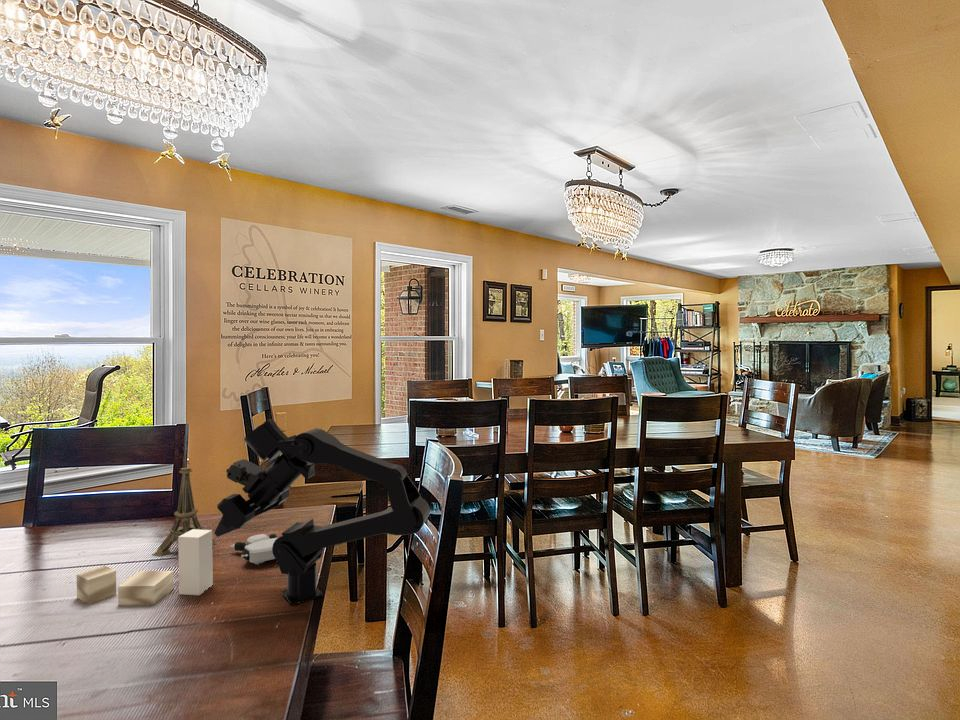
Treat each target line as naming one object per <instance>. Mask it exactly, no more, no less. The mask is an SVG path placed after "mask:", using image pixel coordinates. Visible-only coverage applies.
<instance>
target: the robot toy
mask: <svg viewBox="0 0 960 720" xmlns="http://www.w3.org/2000/svg"><path fill="white" fill-rule="evenodd" d="M277 538H278V535H277V534H276V533H271V534H270V535H269V536H268V535H267V534H266V533H261V534H255V535H251V536H249V537H248V538H247V539H246V542H242V541H237V542H236V543H233V544H231V545H230V548H231V549H234V551H238V552H241V555H240V558H242V559H244V560H246V561H247V562H249V563H252V564H253V563H254V565H260V564H259V563H261V564H263V563H265V562H266V561H272V560H277V559H276V558H275V557H274V555H273V551H272V547H273V543H274V542H275V540H276V539H277ZM262 562H263V563H262Z"/></svg>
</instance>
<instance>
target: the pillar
mask: <svg viewBox="0 0 960 720" xmlns="http://www.w3.org/2000/svg"><path fill="white" fill-rule="evenodd" d="M212 539H213V530H212V529H203V530H199V529H192V530H190V531H188V532H186V533H185V534H183V535H181V536H179V537H178V539H177V540H178V542H177V543H178V556H179V560H178V595H185V596H187V595H189V596H200V595H202V594H203V593H204V591H205V590H206V591H207V590H208V588H209V587H210V588H211V587H213V586H212V585H214V581H213V579H214V578H213V577H214V576H213V574H214V573H213V569H214V568H213V563H214V561H213V558H214V557H213V549H212ZM210 588H209V589H210ZM206 591H205V592H206Z"/></svg>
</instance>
